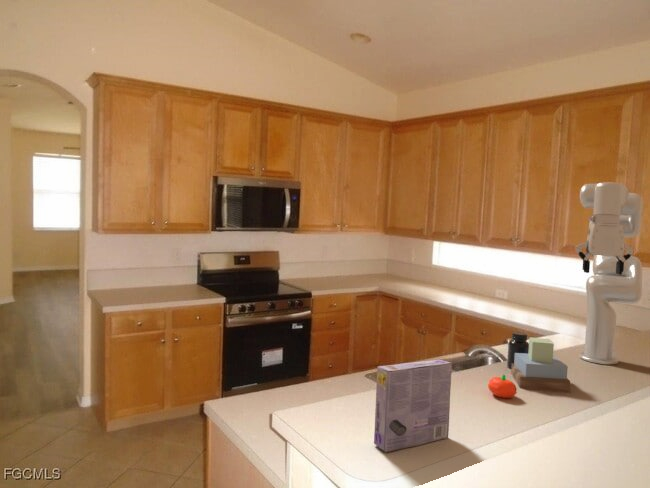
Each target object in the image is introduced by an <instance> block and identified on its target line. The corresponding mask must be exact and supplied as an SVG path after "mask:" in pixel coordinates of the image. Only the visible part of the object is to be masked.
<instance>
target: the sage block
mask: <svg viewBox="0 0 650 488" xmlns="http://www.w3.org/2000/svg"><path fill="white" fill-rule="evenodd" d="M528 343H529V352H528V356H529V358H530V359H531V361H536V362H546V363H553V355H554V347H555V346H554V345H555V344H554V343H553V341H552V340H551V339H550V338H542V337H529V340H528Z"/></svg>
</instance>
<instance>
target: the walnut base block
mask: <svg viewBox="0 0 650 488" xmlns="http://www.w3.org/2000/svg"><path fill="white" fill-rule="evenodd" d="M510 369H511V370H510V374H511V376H512V377H513V379H514V381H515V383H516V384H517V385H518V387H519V388H520V389H528V390H537V391H539V390H540V391H548V392H550V391H551V392H561V393H570V391H571V380H570V379H568V377H567V379H553V378H537V377H525V376H524V375H523V374H522V373H521V372H520V371H519V369H518V368H517V367H516V366H515V365H514V364H513V363H512V365H511V368H510Z"/></svg>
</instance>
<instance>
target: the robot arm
mask: <svg viewBox="0 0 650 488" xmlns="http://www.w3.org/2000/svg"><path fill="white" fill-rule="evenodd" d="M579 201H580V204H581V206H582V207H583V208H585V209H591V210H593V214H592V216H587V217H588V219H587V220H588V221H589V223H588V232H587V237H586V241H585V242H582V243H580V244H577V245H575V247H574V250H575V251H576V253H577V255H578V256H579V257H580V258H581V260H582V271H583V272H584V273H586V274H588V273H589V274H590V267H591V266H590V265H591V261H590V258H592V256H593V261H592V273H593V275H590V276H589V277H588V278H587V279H586V283H585V290H586V291H585V292H586V302H587V303H586V322H585V324H586V325H585V336H584V337H585V339H584V351H582V352H579V356H578V357H579V358H580V359H581V360H584V361H586V362H590V363H595V364H600V365H617V364H619V358H617V357H616V356H615V354H614V353H615V345H616V344H615V343H616V341H615V340H616V330H617V329H616V328H617V312H616V310H615V309H614V307H612V305H611V304H610V303H619V304H633V305H634V304H637V303H639V302H640V301H641V298H642V294H643V293H642V292H643V265H642V262H641V260H640V258H638V257H637V256H633V253H634V251H635V249H634V248H633V247H631V246H629V245H627V244H626V243H625V238H635V237H637V236H638V235H639V234H640V232H641V229H642V228H641V227H642V216H643V200H642V197H641V196H640V194H638V193H636V192H630V191H629V189H628V188H627V186H626V185H625V184H623V183H620V182H614V181H613V182H612V181H609V182H608V181H603V182H598V183H585V184H583V185H582V186H581V188H580V191H579ZM583 248H585V252H586V253H584V252H583V251H582V249H583ZM625 251H626V253H625V254H624V252H625Z"/></svg>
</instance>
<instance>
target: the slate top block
mask: <svg viewBox="0 0 650 488" xmlns="http://www.w3.org/2000/svg"><path fill="white" fill-rule="evenodd" d="M514 365H515V366H516V367H517V368H518V369H519V371H520V372H521V373H522V374H523V375H524V376H525V377H537V378H553V379H567V378H568V370H569V369H568V367H569V366H568V365H567V364H565V363H564V362H563V361H561V360H560V359H559V358H558V357H556V356H555V355H554V354H553V363H546V362H536V361H531V359H530V358H529V356H528V354H526V353H515V358H514Z"/></svg>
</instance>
